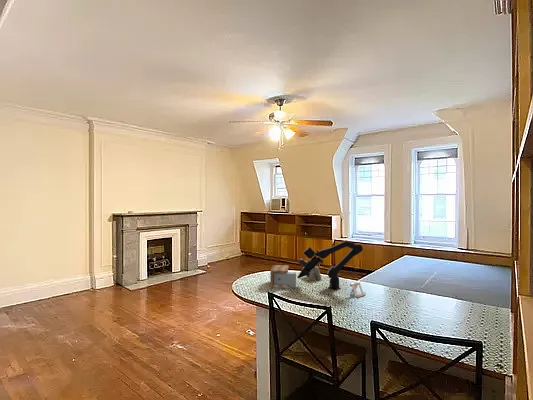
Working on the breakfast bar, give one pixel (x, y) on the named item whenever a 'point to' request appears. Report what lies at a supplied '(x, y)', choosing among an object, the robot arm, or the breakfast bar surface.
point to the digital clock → (315, 274)
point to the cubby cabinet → (278, 270)
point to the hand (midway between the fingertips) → (297, 277)
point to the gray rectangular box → (285, 279)
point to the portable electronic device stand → (355, 289)
